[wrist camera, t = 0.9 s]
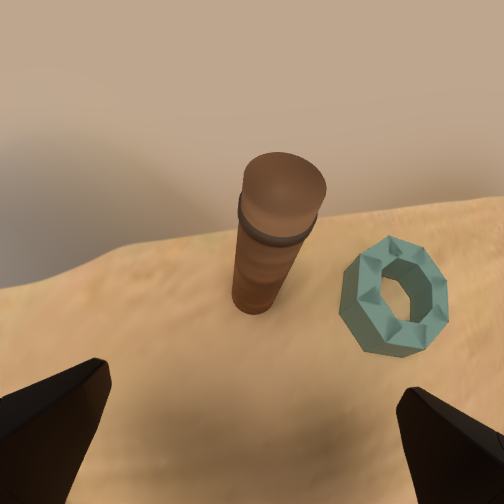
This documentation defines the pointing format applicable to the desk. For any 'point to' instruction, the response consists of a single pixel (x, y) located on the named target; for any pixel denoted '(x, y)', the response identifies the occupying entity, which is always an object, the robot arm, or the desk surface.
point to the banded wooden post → (272, 225)
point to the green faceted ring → (377, 311)
